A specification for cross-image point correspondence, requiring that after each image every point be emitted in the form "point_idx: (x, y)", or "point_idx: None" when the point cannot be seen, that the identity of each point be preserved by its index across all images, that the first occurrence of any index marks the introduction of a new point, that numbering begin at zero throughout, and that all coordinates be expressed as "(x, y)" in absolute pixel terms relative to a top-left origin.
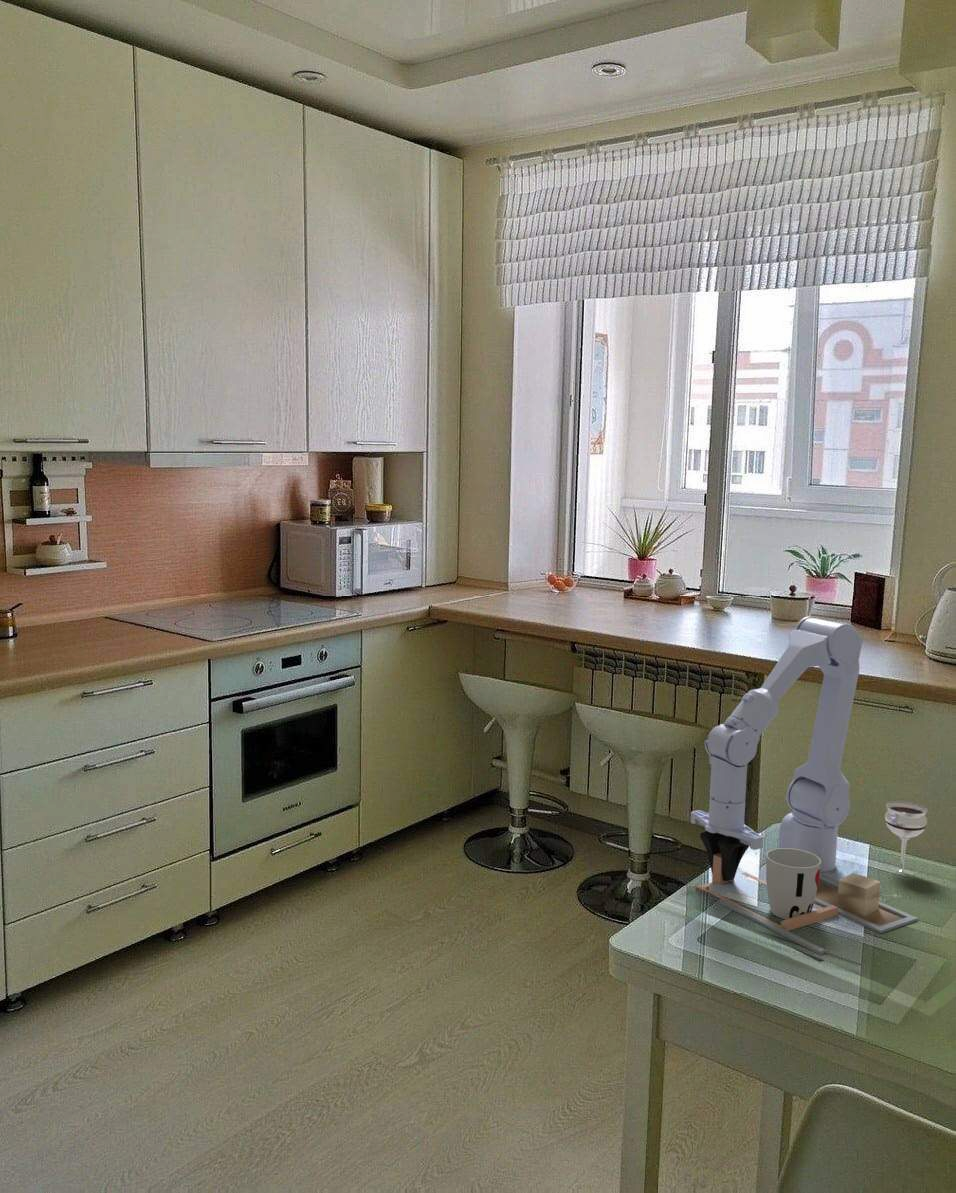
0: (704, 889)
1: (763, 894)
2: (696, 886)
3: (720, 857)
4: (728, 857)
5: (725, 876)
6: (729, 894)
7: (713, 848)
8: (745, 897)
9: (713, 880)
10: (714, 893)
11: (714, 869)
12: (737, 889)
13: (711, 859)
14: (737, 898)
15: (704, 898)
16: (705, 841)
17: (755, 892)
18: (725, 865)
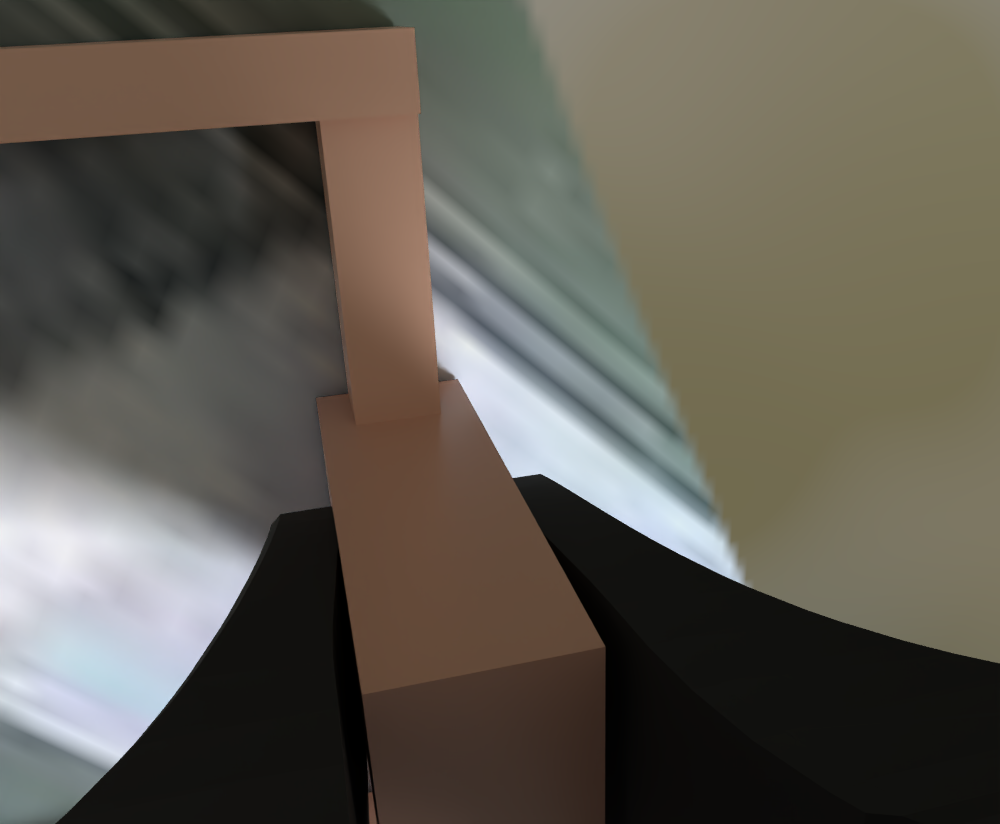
0: (225, 68)
1: (31, 794)
2: (388, 31)
3: (408, 696)
4: (70, 810)
5: (265, 544)
6: (170, 445)
7: (684, 745)
8: (12, 573)
9: (452, 419)
10: (8, 113)
11: (483, 500)
12: None
13: (613, 567)
14: (14, 466)
15: (170, 21)
16: (944, 714)
17: (115, 745)
18: (225, 641)
